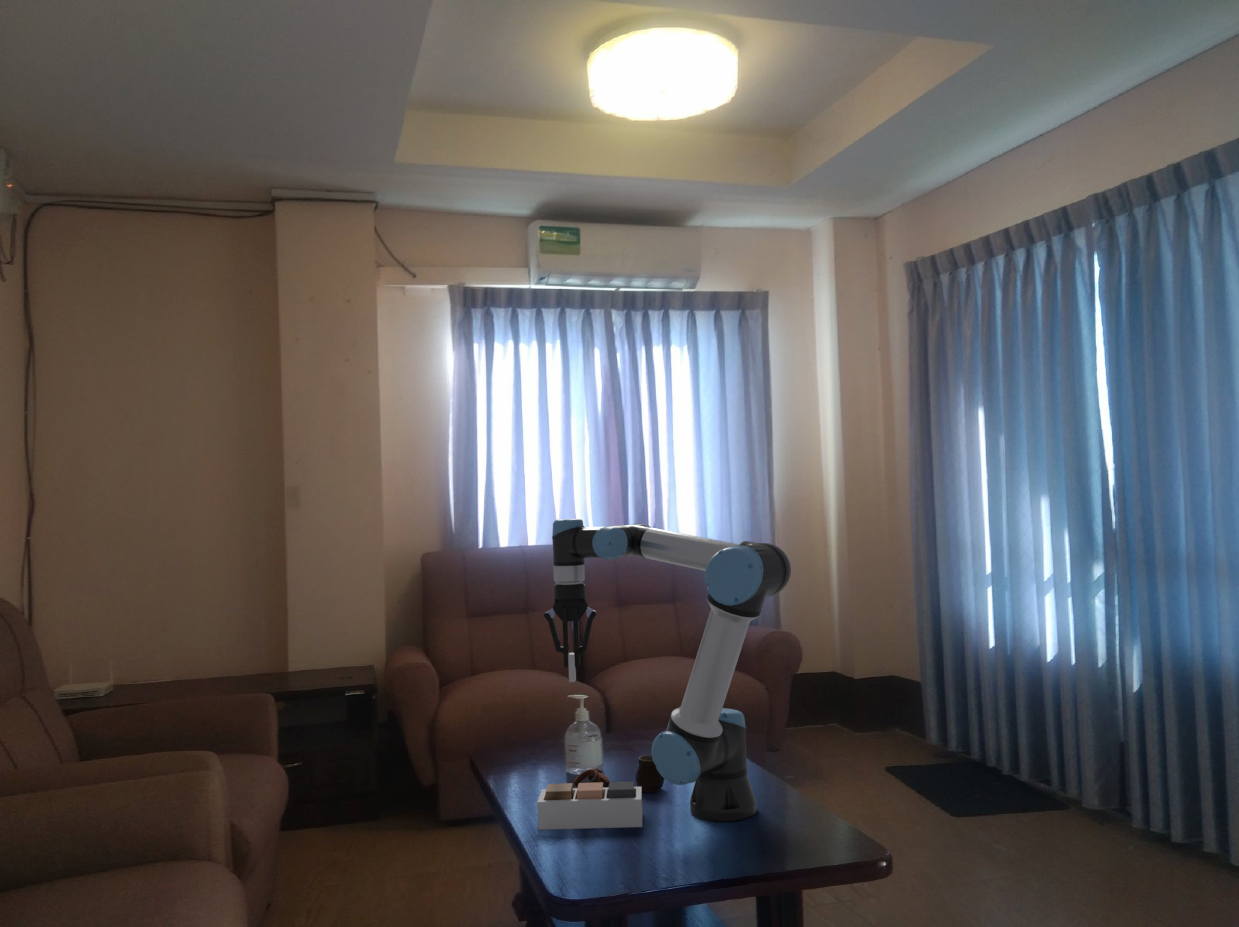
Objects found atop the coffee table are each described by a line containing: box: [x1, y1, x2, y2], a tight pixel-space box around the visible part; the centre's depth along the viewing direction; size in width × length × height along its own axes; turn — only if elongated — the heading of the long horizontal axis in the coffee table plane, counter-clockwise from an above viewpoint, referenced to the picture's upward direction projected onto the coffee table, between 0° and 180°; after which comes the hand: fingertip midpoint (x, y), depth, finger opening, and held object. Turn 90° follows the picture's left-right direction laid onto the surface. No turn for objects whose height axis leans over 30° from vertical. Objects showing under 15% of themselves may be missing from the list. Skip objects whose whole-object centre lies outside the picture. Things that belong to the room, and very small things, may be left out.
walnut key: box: [545, 782, 574, 800], centre depth 206 cm, size 6×6×5 cm
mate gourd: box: [635, 754, 665, 794], centre depth 226 cm, size 7×8×10 cm
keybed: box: [536, 786, 644, 831], centre depth 206 cm, size 23×9×6 cm, turn 88°
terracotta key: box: [577, 782, 604, 799], centre depth 206 cm, size 6×6×5 cm
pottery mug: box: [572, 767, 611, 788], centre depth 222 cm, size 12×10×8 cm
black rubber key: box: [608, 781, 635, 798], centre depth 206 cm, size 6×6×5 cm
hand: (572, 680), depth 220 cm, fingers closed
